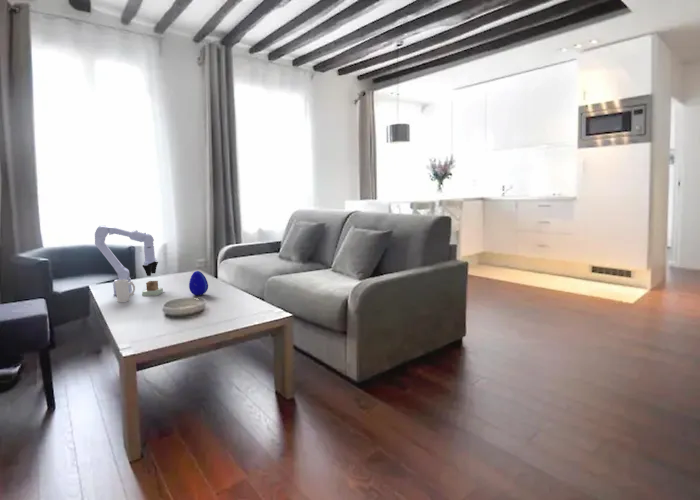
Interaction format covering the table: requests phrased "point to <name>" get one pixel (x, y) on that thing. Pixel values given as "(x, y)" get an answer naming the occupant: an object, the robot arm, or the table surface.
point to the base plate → (152, 292)
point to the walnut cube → (152, 285)
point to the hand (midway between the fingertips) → (151, 274)
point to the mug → (123, 290)
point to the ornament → (198, 283)
